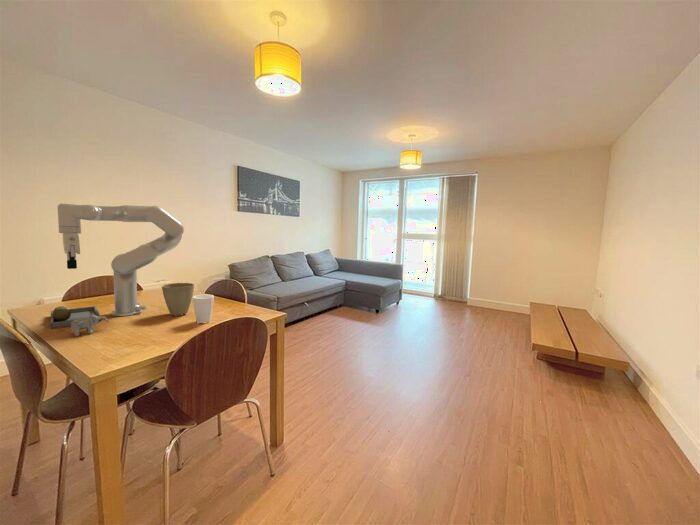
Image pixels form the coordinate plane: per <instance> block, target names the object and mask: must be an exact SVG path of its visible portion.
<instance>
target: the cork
mask: <svg viewBox="0 0 700 525" xmlns="http://www.w3.org/2000/svg"><path fill="white" fill-rule="evenodd" d="M68 309H69V308H67V307H66V306H63V305H59V306H57V307H55V308H53V310H52V311H53V319H54V320H56V321H59V322H61V321H66V320H67V319H69V318H70V316H71V313H70V311H69V310H68Z"/></svg>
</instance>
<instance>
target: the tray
mask: <svg viewBox="0 0 700 525" xmlns="http://www.w3.org/2000/svg"><path fill="white" fill-rule="evenodd" d="M67 309H68V310H69V311H70V313H71V316H70V318H69V319H67V320H66V321H61V322H59V321H56V320H54V319H53V311H54V310H51V311H50V329H51V330H53V328H54V329H60V328H59V327H61V328H66V327H65V326H67V327H71V322H72V321H73V320H76V319H77V318H81V317H87V316H90V315H91V314H92V313H94V315H96V316H101V314H100V312H99V310H98V308H97V306H96V305H94V306H93V305H92V306H85V307H84V306H83V307H76V308H67ZM100 321H101V322H102V319H100V320H98V323H100Z"/></svg>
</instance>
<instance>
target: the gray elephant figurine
mask: <svg viewBox="0 0 700 525" xmlns="http://www.w3.org/2000/svg"><path fill="white" fill-rule="evenodd" d="M100 319H101V320H102V319H103V320H105V321H106V323H109V321H110V320H109V319H108V318H107V317H106V316H104V315H103V316H101V315H100V316H96V315H94V313H92V314H91V315H90V316H87V317H81V318H77V319H76V320H73V321H72V322H71V326H70V330H71V331H72V332H73V334H74V337H77V338H78V337H79V336H80V331H82V330H85V329H86V331H87V333H88V334H89V335H91V334H94V326H95V325H97V324H99V322H98V320H100Z"/></svg>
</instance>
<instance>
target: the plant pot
mask: <svg viewBox="0 0 700 525" xmlns="http://www.w3.org/2000/svg"><path fill="white" fill-rule="evenodd" d="M161 289H162V294H163V298H164V302H165V304H166V307H167V309H168V312H169V314H170V316H172V315H182V314H185V315H187V314H188V311H189V309H190V306H191V304H192V301H193V296H194V290H195V284H194V283H192V282H174V283H166V284H163V285H161ZM186 313H187V314H186ZM182 316H183V315H182Z"/></svg>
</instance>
